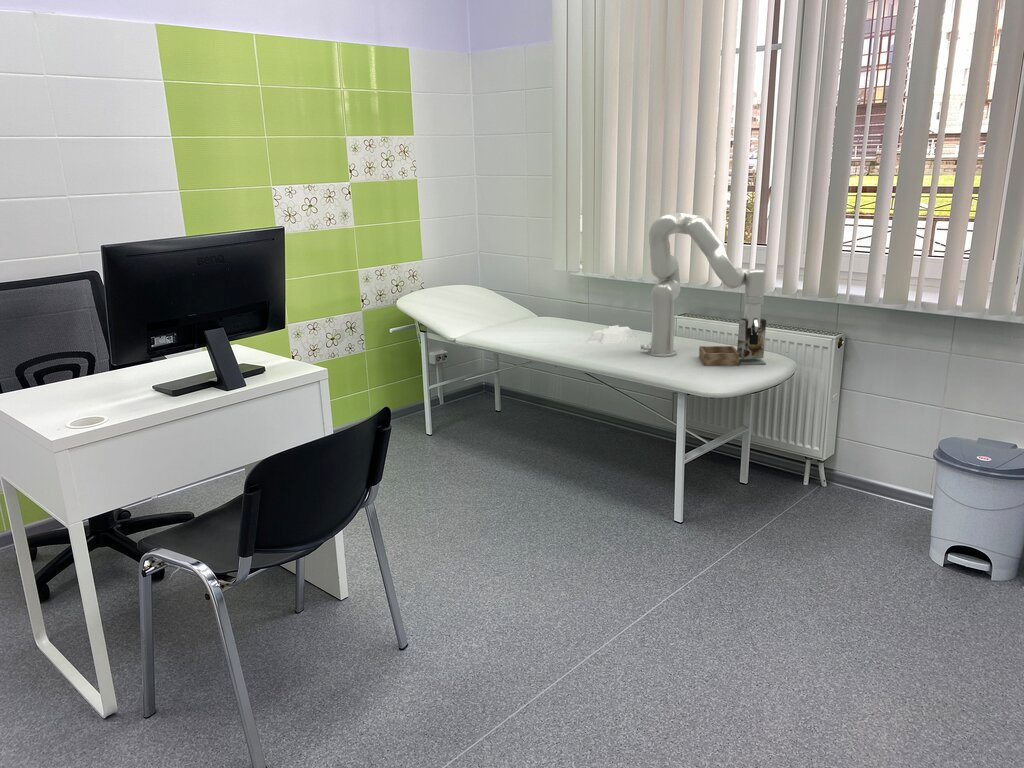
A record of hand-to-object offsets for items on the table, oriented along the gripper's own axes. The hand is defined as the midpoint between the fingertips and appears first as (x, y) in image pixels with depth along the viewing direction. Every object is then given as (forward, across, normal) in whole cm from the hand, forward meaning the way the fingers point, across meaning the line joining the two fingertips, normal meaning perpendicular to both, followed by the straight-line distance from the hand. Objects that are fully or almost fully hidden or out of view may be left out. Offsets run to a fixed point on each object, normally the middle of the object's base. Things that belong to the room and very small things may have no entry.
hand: (751, 341), depth 312 cm
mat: (+8, 0, 0) cm, 8 cm away
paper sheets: (+10, -44, -55) cm, 71 cm away
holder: (+8, 0, -13) cm, 15 cm away
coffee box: (+7, 0, 0) cm, 7 cm away
